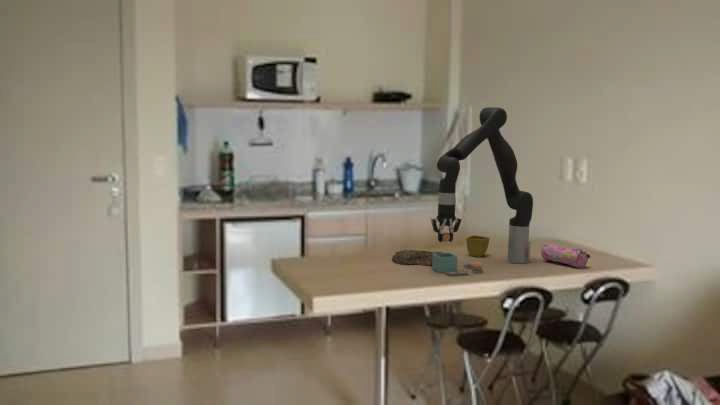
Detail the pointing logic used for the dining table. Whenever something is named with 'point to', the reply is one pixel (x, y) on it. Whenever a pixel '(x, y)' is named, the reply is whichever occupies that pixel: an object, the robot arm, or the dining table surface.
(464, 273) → the card
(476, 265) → the ball
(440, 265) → the teal open box
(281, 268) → the dining table surface
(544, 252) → the pencil case
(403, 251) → the stone relief
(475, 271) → the frame
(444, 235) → the ball
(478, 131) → the robot arm
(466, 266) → the frame
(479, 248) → the flower pot
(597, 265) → the dining table surface
